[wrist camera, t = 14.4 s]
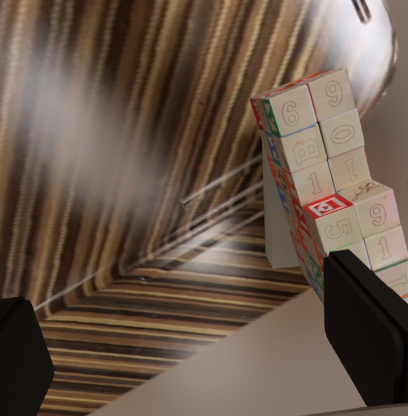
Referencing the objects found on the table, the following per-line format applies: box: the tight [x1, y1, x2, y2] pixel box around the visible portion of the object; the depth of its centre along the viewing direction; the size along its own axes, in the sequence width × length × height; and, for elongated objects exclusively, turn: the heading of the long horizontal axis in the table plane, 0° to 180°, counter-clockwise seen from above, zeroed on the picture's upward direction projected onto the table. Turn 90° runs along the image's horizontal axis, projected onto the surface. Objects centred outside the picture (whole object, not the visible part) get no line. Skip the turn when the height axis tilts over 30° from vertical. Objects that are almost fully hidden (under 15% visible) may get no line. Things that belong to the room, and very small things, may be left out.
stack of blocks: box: [250, 68, 408, 305], centre depth 31 cm, size 21×6×12 cm, turn 20°
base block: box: [262, 142, 300, 269], centre depth 39 cm, size 18×8×4 cm, turn 5°
